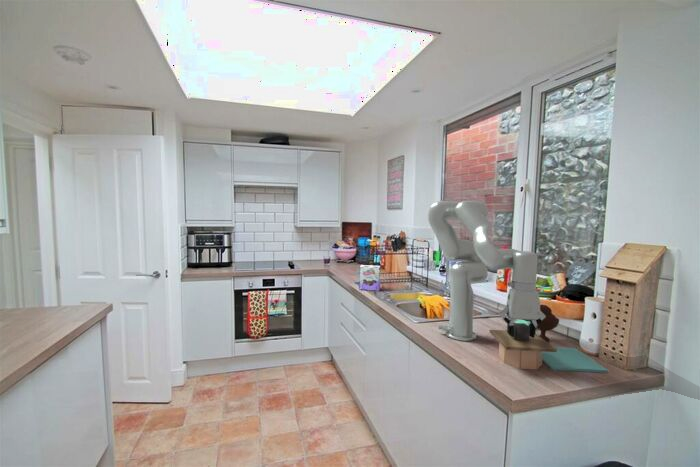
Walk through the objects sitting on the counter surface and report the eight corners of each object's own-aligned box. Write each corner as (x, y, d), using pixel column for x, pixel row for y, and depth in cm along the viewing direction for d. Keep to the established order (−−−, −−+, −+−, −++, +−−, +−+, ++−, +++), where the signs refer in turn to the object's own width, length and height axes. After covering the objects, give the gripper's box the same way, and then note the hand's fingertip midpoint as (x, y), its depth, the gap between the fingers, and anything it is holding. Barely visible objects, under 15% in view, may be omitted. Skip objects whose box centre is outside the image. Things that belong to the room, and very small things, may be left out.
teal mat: (551, 369, 110) (552, 367, 110) (526, 347, 128) (527, 345, 127) (608, 372, 108) (608, 370, 108) (574, 350, 126) (574, 348, 126)
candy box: (358, 290, 218) (359, 265, 217) (359, 288, 224) (360, 264, 223) (379, 291, 216) (379, 266, 215) (379, 289, 222) (380, 265, 221)
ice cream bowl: (562, 345, 130) (565, 309, 130) (532, 342, 133) (534, 306, 132) (552, 336, 141) (554, 302, 140) (524, 333, 143) (526, 300, 142)
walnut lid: (506, 349, 108) (507, 332, 108) (489, 332, 124) (490, 316, 124) (556, 352, 107) (557, 334, 107) (532, 334, 123) (533, 318, 123)
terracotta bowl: (508, 368, 110) (509, 347, 110) (494, 352, 123) (495, 334, 123) (547, 370, 109) (548, 349, 109) (529, 353, 122) (530, 335, 122)
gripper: (502, 287, 111) (500, 338, 112) (555, 289, 110) (551, 341, 111) (494, 283, 119) (492, 331, 120) (543, 284, 118) (540, 333, 119)
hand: (520, 335), depth 116 cm, fingers open, 6 cm apart
